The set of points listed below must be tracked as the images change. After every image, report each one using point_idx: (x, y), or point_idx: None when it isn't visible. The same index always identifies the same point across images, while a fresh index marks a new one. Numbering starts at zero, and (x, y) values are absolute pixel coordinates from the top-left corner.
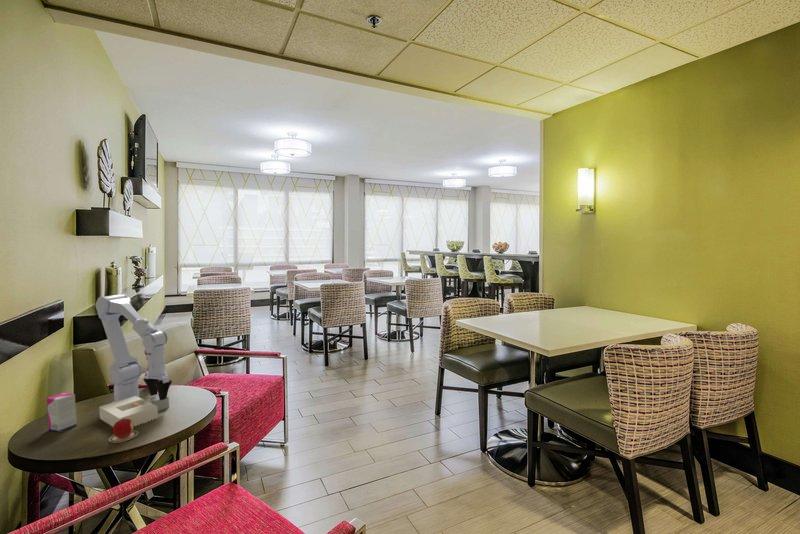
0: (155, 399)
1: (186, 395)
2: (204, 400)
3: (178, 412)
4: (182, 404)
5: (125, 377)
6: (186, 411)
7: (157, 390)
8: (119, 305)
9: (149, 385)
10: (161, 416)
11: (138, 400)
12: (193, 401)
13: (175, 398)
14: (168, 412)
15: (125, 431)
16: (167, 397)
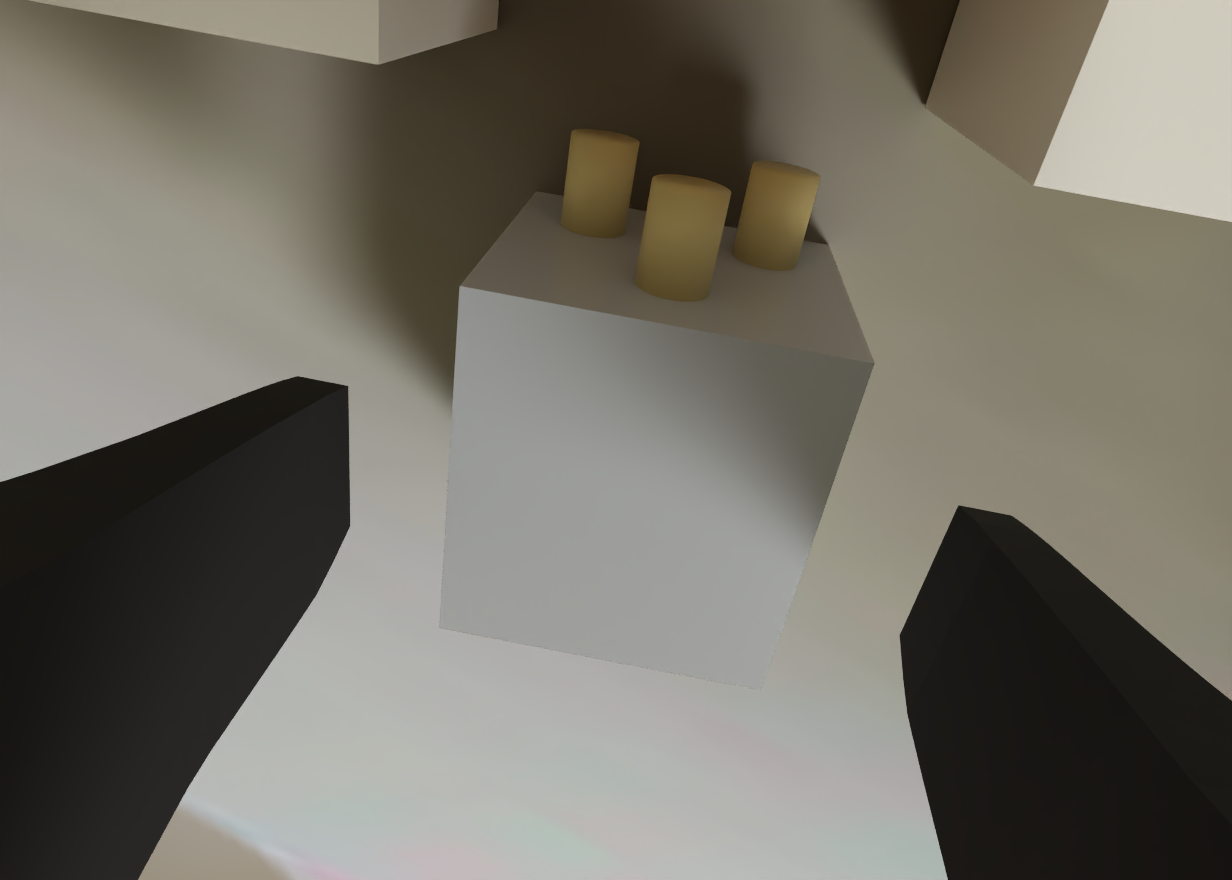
0: (573, 378)
1: (725, 852)
2: (258, 792)
3: (77, 363)
4: (407, 617)
5: None
6: (11, 444)
7: (920, 744)
8: None
9: (1165, 831)
10: (136, 74)
11: (1101, 16)
12: (369, 735)
13: (799, 745)
14: (243, 288)
15: None
16: (443, 594)
